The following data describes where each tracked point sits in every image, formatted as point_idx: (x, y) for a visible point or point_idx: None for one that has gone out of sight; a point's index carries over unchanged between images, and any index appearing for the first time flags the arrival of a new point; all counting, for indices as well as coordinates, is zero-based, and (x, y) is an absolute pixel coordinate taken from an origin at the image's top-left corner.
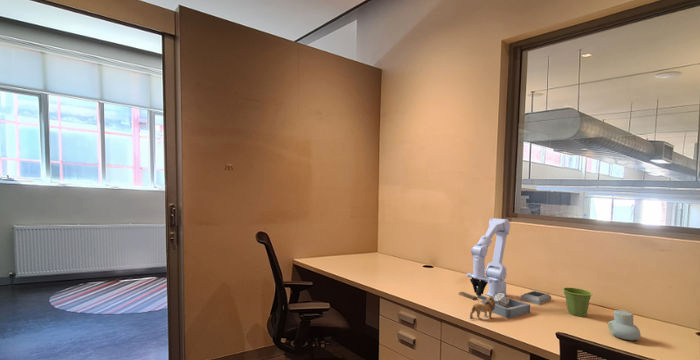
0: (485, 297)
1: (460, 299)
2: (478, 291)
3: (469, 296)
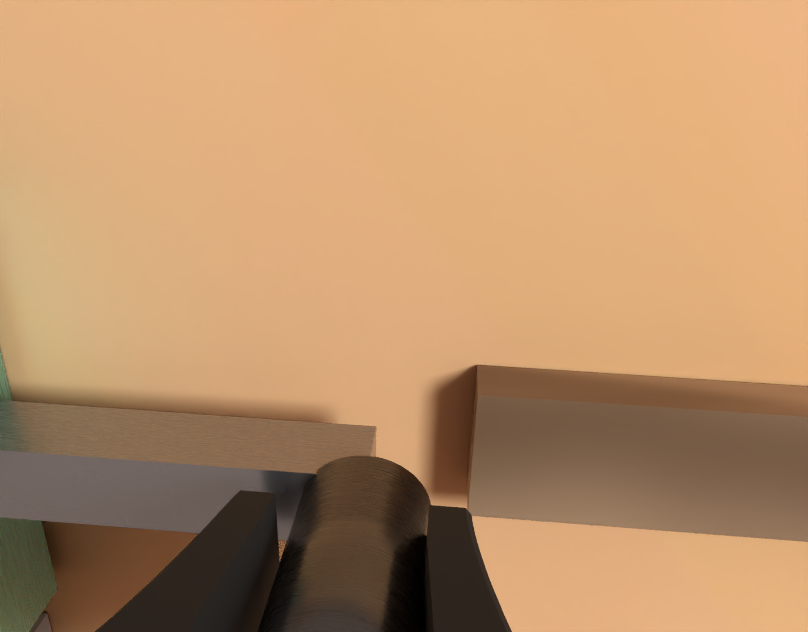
0: (109, 473)
1: (708, 61)
2: (297, 550)
3: (617, 400)
